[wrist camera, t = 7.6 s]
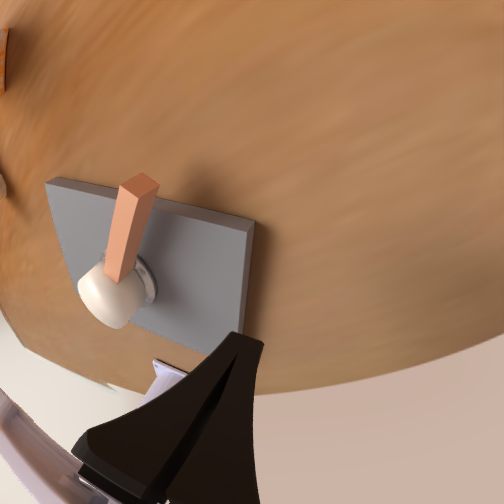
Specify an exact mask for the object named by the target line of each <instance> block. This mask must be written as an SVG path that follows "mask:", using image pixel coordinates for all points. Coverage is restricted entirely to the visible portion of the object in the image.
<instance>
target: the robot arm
mask: <svg viewBox="0 0 504 504" xmlns="http://www.w3.org/2000/svg"><path fill="white" fill-rule="evenodd" d="M263 346H264V343H263V342H262V341H259V340H256V339H254V338H251V337H248V336H245V335H242V334H240V333H237V332H234V331H231V332H229V334H228V335H227V336H226V337H225V339H224V340H223V341H222V342H221V343H220V344H219V346H218V347H217V348H216V349H215V350H214V351H213V352H212V353H211V354H210V355H209V356H208V357H207V358H206V359H205V360H204V361H202V362H201V363H200V364H199V365H198V366H197V367H196V368H195V369H194V370H193V371H191V372H190V373H189V374H187V373H185V372H182V371H180V370H178V369H175V368H173V367H171V366H169V365H167V364H164V363H162V362H160V361H158V360H153V365H154V368H155V371H156V374H157V378H156V379H155V381H154V382H153V384H152V385H151V387H150V388H149V390H148V391H147V393H146V394H145V396H144V397H143V399H142V400H141V402H140V404H139V405H138V407H137V408H136V409H135V410H133V411H131V412H129V413H127V414H125V415H122V416H120V417H118V418H116V419H114V420H111V421H109V422H106V423H103V424H100V425H98V426H95V427H92V428H90V429H88V430H87V431H86V432H85V433H84V434H83V435H82V436H81V437H80V438H79V439H78V441H77V442H76V444H75V445H74V447H73V448H72V450H71V453H72V454H73V455H74V456H75V457H77V458H78V459H79V460H81V461H82V462H83V463H84V464H83V463H81V462H80V461H79V460H77V459H76V458H75V457H73V456H72V455H71V454H69V453H68V452H67V451H66V450H65V449H63V448H62V447H61V446H60V445H58V444H57V443H56V442H55V441H54V440H52V439H51V438H50V437H49V436H48V435H47V434H46V433H45V432H44V431H43V430H41V429H40V428H39V427H38V426H37V425H36V424H35V423H34V422H33V420H32V419H31V418H30V417H29V416H28V415H27V414H26V413H25V412H24V411H23V410H22V409H21V408H20V407H19V406H18V405H17V404H16V403H15V402H13V401H12V400H11V399H10V398H9V397H8V396H7V395H6V394H5V392H4V391H3V390H2V389H1V388H0V455H1V456H2V458H3V459H4V460H5V462H6V463H7V465H8V466H9V468H10V469H11V470H12V472H13V473H14V474H15V475H16V477H17V478H18V479H19V481H20V482H21V483H22V484H23V486H24V487H25V488H26V489H27V490H28V492H29V493H30V494H31V495H32V496H33V497H34V499H35V500H36V501H37V502H38V503H39V504H165V503H166V502H167V500H169V502H170V503H169V504H260V500H259V494H258V487H257V480H256V472H255V461H254V449H253V402H254V390H255V380H256V373H257V367H258V364H259V360H260V357H261V353H262V350H263ZM79 477H80V478H82V479H83V480H84V481H86V482H87V483H89V484H90V485H91V486H90V485H88V484H86V483H84V482H82V481H80V480H79ZM92 486H93V487H94V488H93V487H92ZM95 488H96V489H97V490H96V489H95ZM98 490H99V491H98Z"/></svg>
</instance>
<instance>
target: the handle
mask: <svg viewBox="0 0 504 504" xmlns="http://www.w3.org/2000/svg"><path fill="white" fill-rule="evenodd" d="M159 186H160V184H158V183H157V182H155V181H154V180H152V179H151V178H149V177H148V176H146V175H145V174H143V173H141V174H139V175H137V176H135V177H133V178H132V179H130V180H128V181H126V182H125V183H123V184H121V185H120V187H119V191H118V195H117V200H116V204H115V209H114V214H113V219H112V224H111V229H110V234H109V240H108V246H107V252H106V257H105V258H103V259H102V260H101V261H100V262H99V263H98V264H97V265H95V266H94V267H93V268H92V269H91V270H90V271H89V272H88V273H86V274H85V275H84V276H83V277H82V278H81V279H80V280H79V281H78V291H79V294H80V296H81V298H82V300H83V302H84V304H85V305H86V306H87V308H88V309H89V310H90V311H91V313H92V314H93V315H94V316H95V317H96V318H98V319H99V320H100V321H101V322H103V323H104V324H106V325H107V326H109V327H112V328H115V329H121V328H123V327H124V325H125V324H126V323H127V322H128V321H129V320H130V318H131V317H132V316H133V315H134V314H135V312H136V311H137V310H138V309H139V308H140V307H141V306H142V304H143V303H144V302H145V300H146V290H145V287H144V285H143V283H142V281H141V279H140V278H139V276H138V275H137V273H136V272H135V271H134V270H133V268H134V265H135V261H136V257H137V254H138V251H139V247H140V244H141V240H142V237H143V234H144V231H145V227H146V224H147V221H148V218H149V215H150V212H151V209H152V206H153V203H154V200H155V197H156V194H157V192H158V189H159Z"/></svg>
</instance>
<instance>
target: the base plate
mask: <svg viewBox="0 0 504 504" xmlns="http://www.w3.org/2000/svg"><path fill="white" fill-rule="evenodd" d="M45 187H46V192H47V197H48V201H49V205H50V210H51V214H52V218H53V222H54V225H55V229H56V233H57V236H58V240H59V243H60V246H61V250H62V253H63V256H64V259H65V262H66V265H67V268H68V271H69V274H70V277H71V280H72V282H73V285H74V288H75V290H76V293H77V295H78V296H80V294H79V291H78V281H79V280H80V279H81V278H82V277H83V276H84V275H85V274H86V273H88V272H89V271H90V270H91V269H92V268H93V267H94V266H95V265H97V264H98V263H99V262H100V261H101V260H102V259H103V258H105V257H106V252H107V246H108V240H109V234H110V229H111V224H112V219H113V214H114V209H115V204H116V200H117V195H118V191H119V189H115V188H110V187H105V186H100V185H95V184H90V183H85V182H80V181H75V180H70V179H64V178H59V177H55V178H53V179H51V180H50V181H48V182H46V183H45ZM254 228H255V221H254V220H250V219H246V218H242V217H238V216H234V215H229V214H225V213H221V212H217V211H213V210H209V209H204V208H200V207H196V206H192V205H187V204H183V203H179V202H174V201H170V200H165V199H161V198H156V197H155V200H154V203H153V206H152V209H151V212H150V215H149V218H148V221H147V224H146V227H145V231H144V234H143V237H142V240H141V244H140V247H139V251H138V254H137V257H136V261H135V265H134V268H133V270H134V271H135V272H136V273H137V275H138V276H139V278H140V279H141V281H142V283H143V285H144V287H145V290H146V300H145V302H144V303H143V304H142V306H141V307H140V308H139V309H138V310H137V311H136V312H135V314H134V315H133V316H132V317H131V318H130V320H129V322H131V323H133V324H135V325H137V326H139V327H141V328H143V329H146V330H148V331H150V332H152V333H154V334H157V335H159V336H161V337H164V338H166V339H168V340H170V341H173V342H175V343H178V344H180V345H182V346H185V347H187V348H190V349H192V350H195V351H197V352H200V353H202V354H205V355H208V356H209V355H210V354H211V353H212V352H213V351H214V350H215V349H216V348H217V347H218V346H219V344H220V343H221V342H222V341H223V340H224V339H225V337H226V336H227V335H228V334H229V332H231V331H234V332H237V333H240V334H242V335H243V326H244V317H245V308H246V300H247V291H248V282H249V273H250V264H251V255H252V246H253V237H254ZM80 297H81V296H80Z"/></svg>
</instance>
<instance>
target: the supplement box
mask: <svg viewBox="0 0 504 504" xmlns="http://www.w3.org/2000/svg"><path fill="white" fill-rule="evenodd" d="M8 30H9V29H8V28H7V29H0V94H1V93H4V92H5V83H4V82H5V56H6V55H5V54H6V43H7V36H8Z"/></svg>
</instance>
